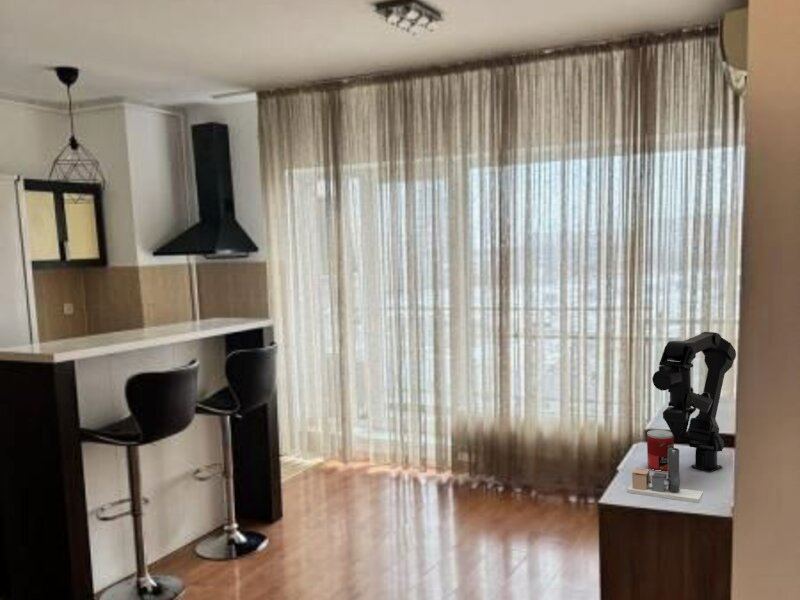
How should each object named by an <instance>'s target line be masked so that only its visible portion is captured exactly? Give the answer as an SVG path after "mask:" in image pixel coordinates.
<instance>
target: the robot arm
mask: <svg viewBox="0 0 800 600" xmlns="http://www.w3.org/2000/svg"><path fill="white" fill-rule="evenodd" d="M701 352H702V354H703V355H704V359H703V361H704V364H705V366H706V368H707V373H706V377H705V382H704V386H703V391H702V393H701V394H700V393H696V392H694V388H693V386H692V385H691V384H692V383H691V382H692V381H691V380H692V379H691V376H692V375H691V371H692V370H691V368H694V364H693V363H692V361H694V359H696V358H697V356H696V354H698V353H701ZM736 357H737V352H736V349H735V347H734V346H733V345H732V343H731V342H729V341H728V340H726V339H725V338H723V337H722V336H721V334H720V333H719V332H715V331H702V332H701V333H700V334H697V335H694V336H692V337H690V338H687V339H685V340H670V341H668V342H667V343H666V345H665V346H664V349H663V352H662V355H661V357H660V361H659V364H658V365H659V366H658V370H657V371H655V372H654V374H653V376H652V377H651V378H652V379H651V380H652V383H653V386H654V387H655V388H656V389H658V390H660V391H666V390H667V391H668V392H667V393H669V401H668V402H667V403H668V405H667V406H668V407H667V408H665V409H664V410H663V411H662V419H663V420H664V422H665V423H666V424H667V426H668V428H669V430H670V432H672V434H673V436H674V441H675V442H681V438H682V434H686V436H687V437H686V438H687V440H688V441H687V442H688V445H689V447H690V448H694V449H695V453H694V454H695V456H694V458H695V463H694V464H691V466H690V468H693V469H698V470H701V471H705V472H709V473H711V472H714V471H716V470H719V469H722V468H723V465H720V464H718V452H723V449H724V447H725V446H724V445H725V442H724V439H723V438H722V437H721V435H720V433H719V432H720V427H719V425H718V423H717V420H716V417H717V412H718V407H719V403H720V398H721V393H722V390H723V389H722V388H723V383H724V378H725V375H726V373H727V372H729V370H730V369H731V368H732V367H733V364H734V362H735V359H736ZM696 410H699V411H698V414H697V415H696V416H695V417H691V415H693V414H694V412H695V411H696ZM690 417H691V418H690Z"/></svg>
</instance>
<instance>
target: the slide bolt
mask: <svg viewBox="0 0 800 600" xmlns="http://www.w3.org/2000/svg"><path fill="white" fill-rule="evenodd" d="M667 450H668V471H667V478H664V485H666V486H667V487H668V490H669V491H672V492H678V491H680V487H681V486H680V485H681V482H680V481H681V480H680V478H681V477H680V474H681V473H680V449H679V448H677V447H674V448H668V449H667ZM646 477H647V483H650V484H652V475H650V476H646Z"/></svg>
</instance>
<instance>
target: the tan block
mask: <svg viewBox="0 0 800 600" xmlns="http://www.w3.org/2000/svg"><path fill="white" fill-rule="evenodd" d="M650 470H651V469H650V468H649V469H647V468H641V467H640V468H639V467H635V468H634V469H633V471H632V472H631V475H632V477H631V478H632V479H631V480H632V482H631V484H632V487H633V489H640V490H647V489H648V487H649V486H650V484H651V483H647V477H646V476H651V471H650Z"/></svg>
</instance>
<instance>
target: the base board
mask: <svg viewBox="0 0 800 600" xmlns="http://www.w3.org/2000/svg"><path fill="white" fill-rule="evenodd" d="M626 492H627V493H629V494H636V495H642V496H648V497H656V498H662V497H663V499H670V500H675V501H676V500H677V501H683V502H690V503H697V504H699V503H700V502H701V500H702V498H703V496H704V491H702V490H701V491H700V490H695V489H694V490H693V489H687V488H680V491H678V492H672V491H669V490H668V486H667V489H666V490H665V492H658V491H652V484H651V483H650V486H649V487H648V489H647V490H640V489H633V487H632V483H631V484H630V485H629V486H628V487H627V489H626Z"/></svg>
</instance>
